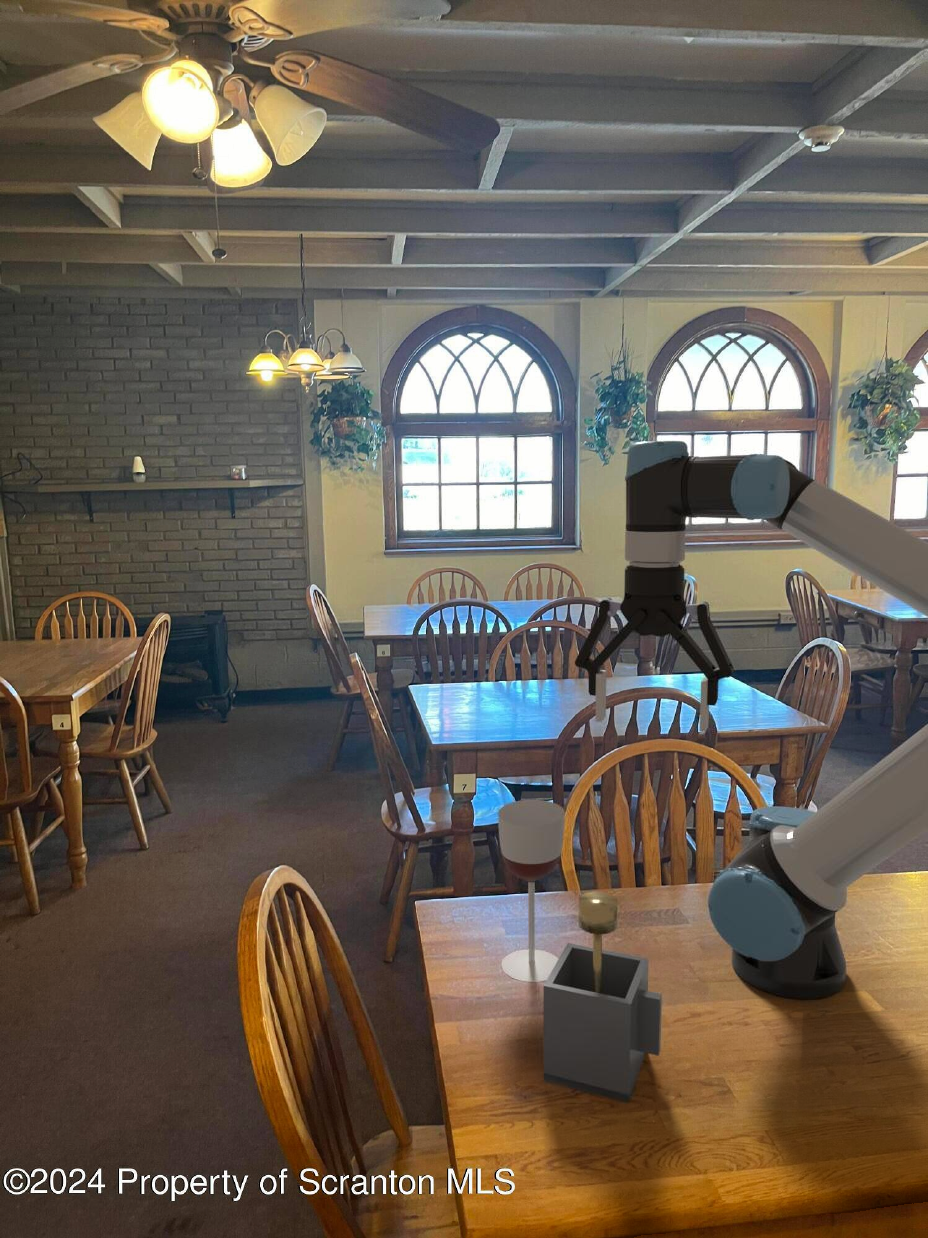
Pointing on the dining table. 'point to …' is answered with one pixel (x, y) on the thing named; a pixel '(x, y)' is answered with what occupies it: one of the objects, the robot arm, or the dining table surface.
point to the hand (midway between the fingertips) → (651, 724)
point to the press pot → (599, 1023)
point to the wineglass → (531, 871)
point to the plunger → (597, 926)
